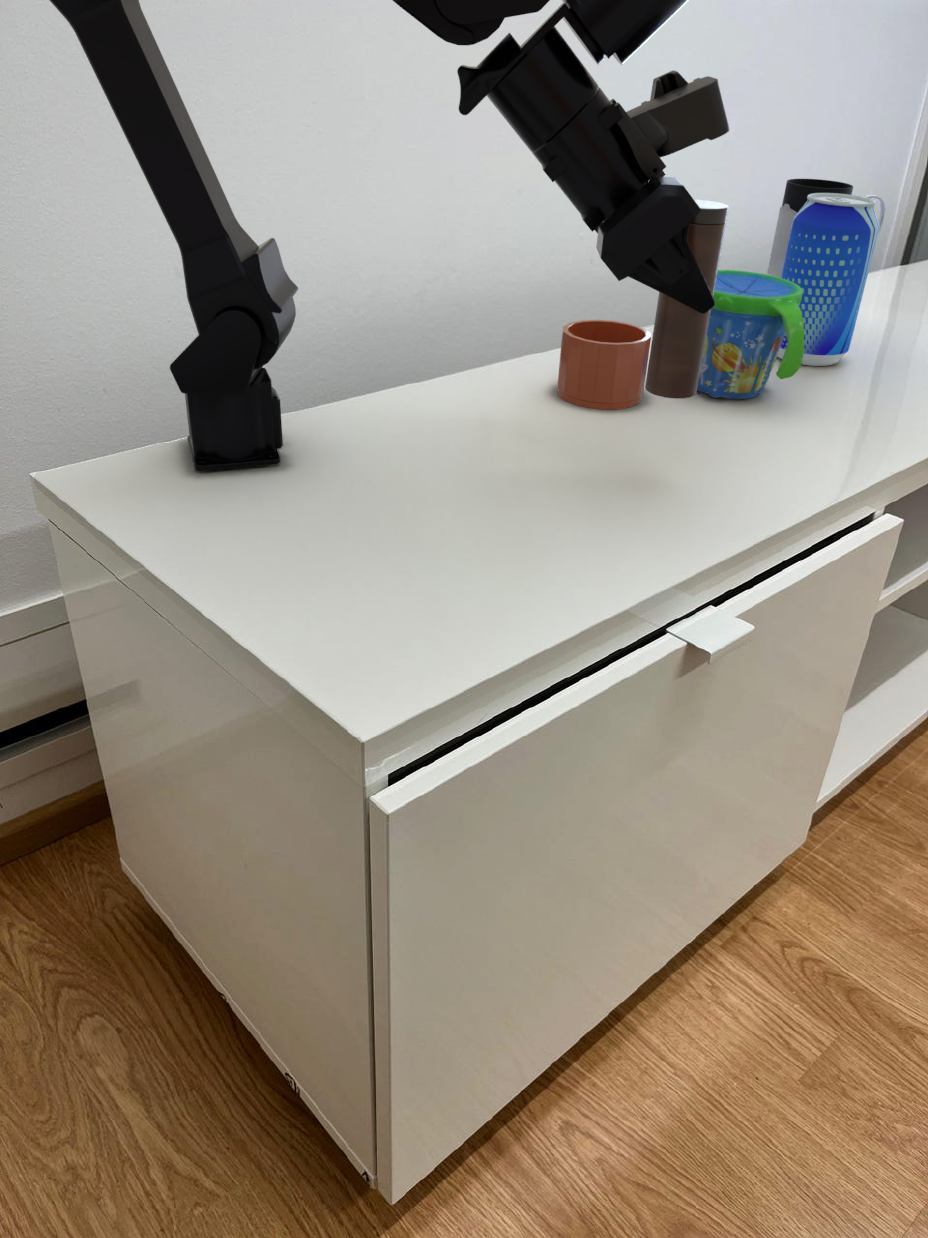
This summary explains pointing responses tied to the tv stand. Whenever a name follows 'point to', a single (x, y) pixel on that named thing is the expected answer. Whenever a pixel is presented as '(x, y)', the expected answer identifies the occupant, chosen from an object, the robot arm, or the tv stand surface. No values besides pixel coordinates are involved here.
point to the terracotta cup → (603, 364)
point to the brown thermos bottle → (686, 314)
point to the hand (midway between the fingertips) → (704, 301)
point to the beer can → (830, 270)
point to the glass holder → (791, 206)
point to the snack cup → (750, 334)
